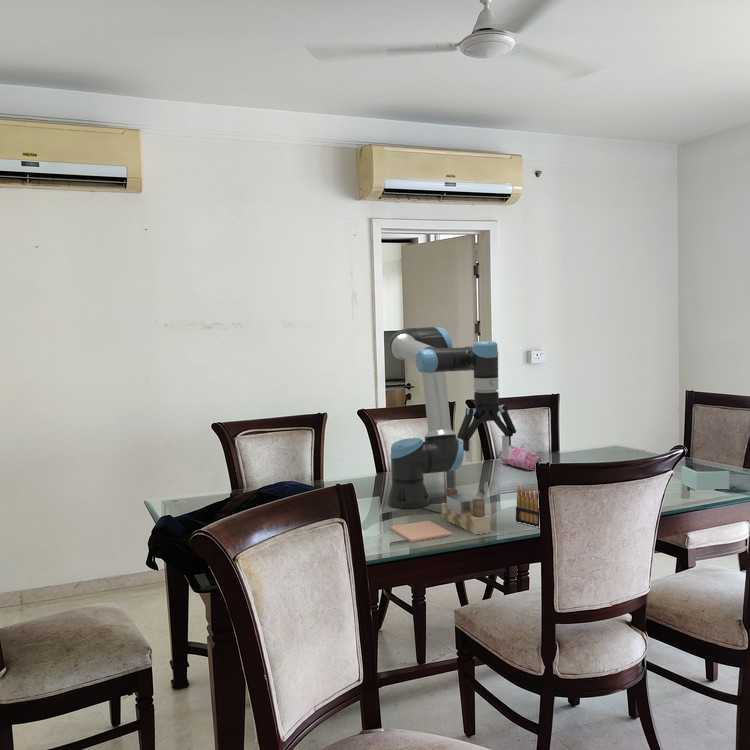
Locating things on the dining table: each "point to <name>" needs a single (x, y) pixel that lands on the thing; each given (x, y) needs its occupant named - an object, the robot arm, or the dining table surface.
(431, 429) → the robot arm
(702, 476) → the l-shaped corner panel
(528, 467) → the pencil case
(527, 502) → the ammunition clip
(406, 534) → the mat
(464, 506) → the brushed metal block
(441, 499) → the dining table surface
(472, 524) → the wooden peg stand
